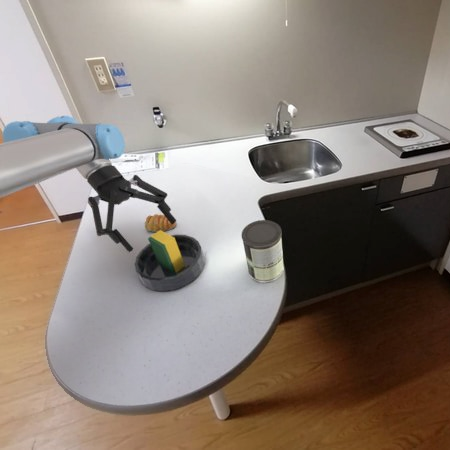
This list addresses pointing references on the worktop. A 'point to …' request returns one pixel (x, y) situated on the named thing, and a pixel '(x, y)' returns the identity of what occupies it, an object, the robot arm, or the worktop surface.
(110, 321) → the worktop surface
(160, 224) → the pastry
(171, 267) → the sponge
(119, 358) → the worktop surface
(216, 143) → the worktop surface
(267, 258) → the coffee can
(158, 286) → the bowl
